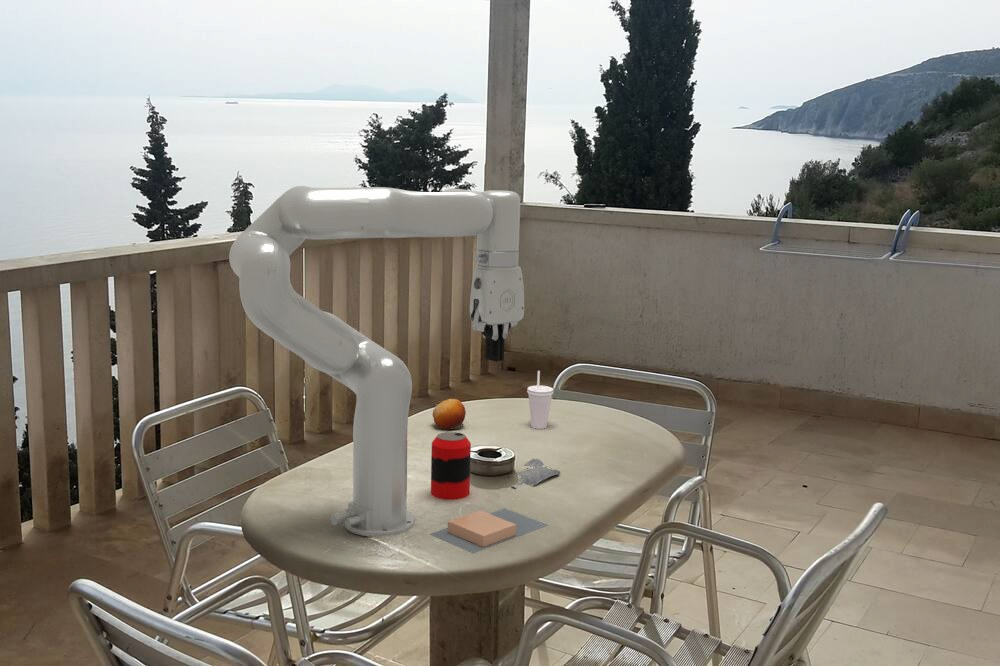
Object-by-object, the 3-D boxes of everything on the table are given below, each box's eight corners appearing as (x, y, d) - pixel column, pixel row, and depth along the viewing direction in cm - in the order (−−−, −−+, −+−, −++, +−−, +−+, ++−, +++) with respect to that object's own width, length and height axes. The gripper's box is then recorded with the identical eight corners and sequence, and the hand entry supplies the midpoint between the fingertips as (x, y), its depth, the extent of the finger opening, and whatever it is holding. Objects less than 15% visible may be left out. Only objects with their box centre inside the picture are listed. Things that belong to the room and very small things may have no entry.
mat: (472, 555, 169) (473, 553, 169) (429, 536, 177) (429, 533, 176) (548, 527, 182) (548, 524, 182) (504, 510, 190) (504, 508, 190)
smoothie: (527, 422, 250) (529, 367, 247) (553, 424, 249) (555, 369, 246) (524, 429, 244) (526, 373, 241) (550, 431, 243) (553, 374, 240)
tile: (515, 535, 177) (483, 547, 171) (479, 521, 183) (447, 532, 177) (516, 524, 177) (483, 536, 171) (480, 510, 183) (447, 521, 177)
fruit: (472, 426, 240) (455, 398, 238) (443, 442, 240) (426, 414, 239) (473, 417, 248) (457, 389, 246) (446, 432, 248) (429, 405, 247)
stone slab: (531, 457, 220) (570, 464, 214) (531, 465, 220) (570, 472, 214) (482, 480, 205) (522, 488, 200) (482, 489, 206) (523, 497, 200)
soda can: (477, 496, 197) (479, 437, 195) (448, 504, 192) (450, 444, 190) (451, 486, 203) (452, 428, 200) (422, 494, 197) (423, 435, 195)
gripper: (482, 265, 173) (479, 369, 177) (540, 259, 184) (537, 358, 187) (452, 260, 178) (450, 361, 182) (511, 255, 189) (508, 351, 192)
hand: (494, 359), depth 184 cm, fingers closed
